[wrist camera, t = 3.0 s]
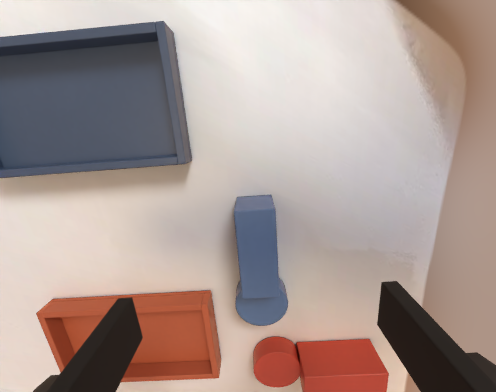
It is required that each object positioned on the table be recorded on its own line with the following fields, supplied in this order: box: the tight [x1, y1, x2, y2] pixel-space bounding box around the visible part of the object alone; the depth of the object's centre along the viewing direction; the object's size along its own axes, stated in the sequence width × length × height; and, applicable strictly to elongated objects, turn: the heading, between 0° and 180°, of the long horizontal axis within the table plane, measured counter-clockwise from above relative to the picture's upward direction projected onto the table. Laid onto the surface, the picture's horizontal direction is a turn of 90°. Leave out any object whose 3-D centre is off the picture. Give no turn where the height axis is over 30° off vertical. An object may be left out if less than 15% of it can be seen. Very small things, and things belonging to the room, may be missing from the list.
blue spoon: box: [234, 195, 288, 326], centre depth 20 cm, size 12×5×4 cm, turn 4°
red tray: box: [36, 290, 221, 382], centre depth 23 cm, size 16×9×2 cm, turn 94°
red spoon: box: [254, 337, 389, 392], centre depth 23 cm, size 12×5×4 cm, turn 94°
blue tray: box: [0, 21, 192, 178], centre depth 17 cm, size 16×9×2 cm, turn 94°
